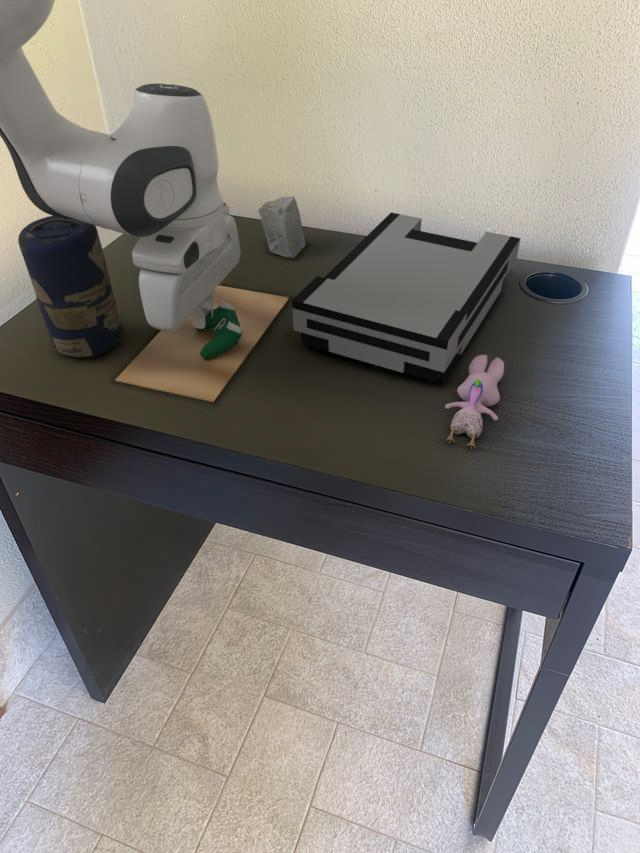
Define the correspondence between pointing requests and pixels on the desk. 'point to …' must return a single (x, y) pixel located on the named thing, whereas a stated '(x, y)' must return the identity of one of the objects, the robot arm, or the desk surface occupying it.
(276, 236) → the mineral specimen
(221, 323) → the gaming controller
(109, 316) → the canister
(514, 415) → the desk surface
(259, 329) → the cork mat
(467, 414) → the rabbit figure
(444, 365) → the game console
